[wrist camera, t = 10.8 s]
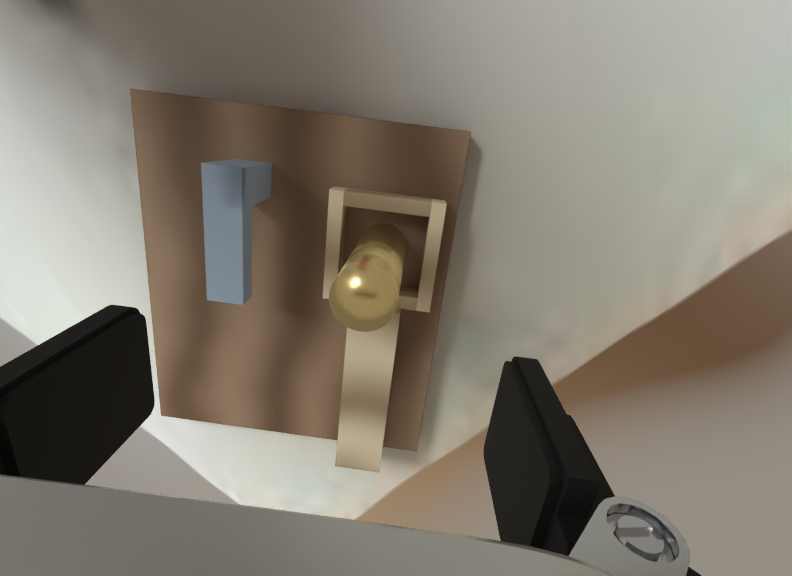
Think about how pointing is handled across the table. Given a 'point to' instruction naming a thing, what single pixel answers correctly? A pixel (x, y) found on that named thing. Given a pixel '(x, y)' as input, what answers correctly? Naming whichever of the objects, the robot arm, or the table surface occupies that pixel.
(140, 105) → the base plate
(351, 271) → the pin
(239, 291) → the bracket
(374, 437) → the link
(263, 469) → the table surface
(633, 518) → the robot arm
